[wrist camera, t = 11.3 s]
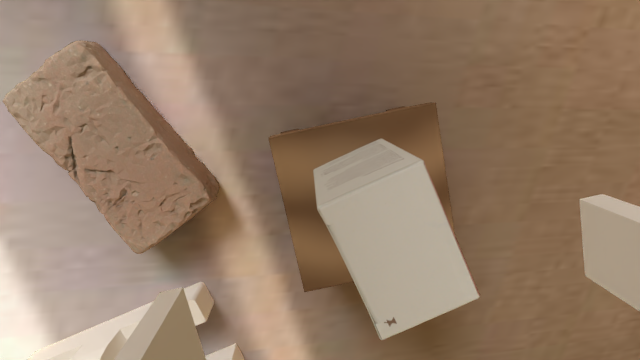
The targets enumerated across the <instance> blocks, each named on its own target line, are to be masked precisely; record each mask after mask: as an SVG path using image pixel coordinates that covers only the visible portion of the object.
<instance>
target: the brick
mask: <svg viewBox="0 0 640 360" xmlns="http://www.w3.org/2000/svg"><path fill="white" fill-rule="evenodd" d="M3 102H4V104H5V105H6V106H7V108H8V111H9V112H10V113H11V114H12V116H13V117H14V118H15V119H16V120H17V121H18V123H19V124H20V125H21V127H22V128H23V129H24V130H25V131H26V132H27V133H28V135H29V136H30V137H31V138H32V139H33V140H34V141H35V143H36V144H37V145H38V146H39V147H40V148H41V149H42V150H43V151H45V152H46V153H47V154H49V155H50V156H51V157H53V159H54V160H55V162H56V163H57V164H58V165H59V166H61V167H62V168H63V169H65V170H68V171H69V172H68V173H69V176H70V177H71V178H72V179H73V180H74V181H76V182H77V183H78V184H79V186H80V188H81V189H82V191H83V192H84V193H85V195H86V197H87V196H88V197H89V199H90V200H91V201H93V202H95V204H96V206H97V208H98V210H99V211H100V212H101V213H102V214H104V216H105V218H106V220H107V221H108V223H109V224H110V225H111V226H112V228H113V229H114V230H115V231H116V232H117V233H118V235H119V236H120V237H121V238H122V239H123V240H124V241H125V242H126V243H127V244H128V245H129V247H130V248H131V249H132V251H134V252H135V253H137V254H140V253H143V252H145V251H146V250H149V249H150V248H152V247H153V246H155V245H156V244H158V243H159V242H160V241H162V240H163V239H165V238H166V237H168V236H169V235H170V234H171V233H173V232H174V231H175V230H176V229H178V228H179V227H180V226H182V225H183V224H184V223H186V222H187V221H189V220H190V219H191V218H193V217H194V216H195V215H196V214H197V213H198V212H199V211H200V210H202V209H203V208H204V207H206V206H207V205H208V204H209V203H211V202H212V201H213V200H215V198H216V197H217V194H218V191H219V185H218V182H217V181H216V180H215V177H214V176H213V175H212V174H211V173H210V172H209V170H208V169H207V168H206V167H205V165H204V164H203V163H201V162H200V161H198V160H197V159H196V158H195V156H194V152H193V151H192V149H191V148H190V147H189V146H187V145H186V144H185V143H184V141H183V140H182V139H181V138H180V137H179V136H178V134H177V133H176V132H175V131H174V130H173V128H172V127H171V126H170V125H169V124H168V123H167V122H166V121H165V120H164V119H163V117H162V116H161V115H160V114H159V113H158V112H157V111H156V110H155V109H154V108H153V107H152V106H151V104H150V103H149V102H148V100H147V99H146V98H145V97H144V96H143V94H142V93H141V92H140V91H138V90H137V89H136V88H135V87H134V85H133V83H132V82H131V80H130V79H129V78H128V77H127V76H126V74H125V73H124V71H123V70H122V69H121V67H120V66H119V65H118V64H117V62H115V61H114V60H113V59H112V58H111V57H110V56H109V54H108V53H107V52H106V51H105V50H104V49H103V48H102V47H101V46H100V45H99V44H98V43H96V42H88V41H87V42H86V41H81V40H80V41H75V42H72V43H70V44H69V45H68V46H66V47H65V48H63V49H62V50H60V51H58V52H56V53H55V54H54V55H53V56H51V57H49V58H48V59H46V60H45V62H44V65H43V66H41V67H40V68H39V69H38V71H37V72H34V73H33V74H32V75H31V76H30V77H29V78H28V79H26V80H25V81H23V82H21V83H19V84H17V85H16V87H15V88H14V89H13V90H11V91H10V92H9V93H7V94H6V96H5V98H4V100H3Z"/></svg>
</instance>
